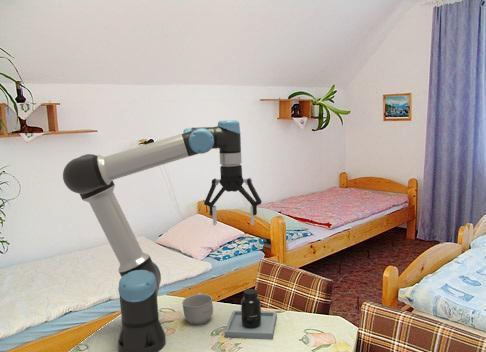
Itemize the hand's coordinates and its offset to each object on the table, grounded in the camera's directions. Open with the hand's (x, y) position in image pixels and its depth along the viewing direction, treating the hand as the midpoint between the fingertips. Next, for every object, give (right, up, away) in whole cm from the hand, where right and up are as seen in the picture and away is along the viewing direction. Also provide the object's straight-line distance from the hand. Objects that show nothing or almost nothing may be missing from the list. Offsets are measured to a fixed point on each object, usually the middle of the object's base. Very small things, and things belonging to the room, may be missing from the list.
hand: (233, 224), depth 155 cm
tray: (+6, -35, -3) cm, 36 cm away
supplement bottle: (+6, -35, -3) cm, 35 cm away
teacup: (-13, -35, +5) cm, 38 cm away
